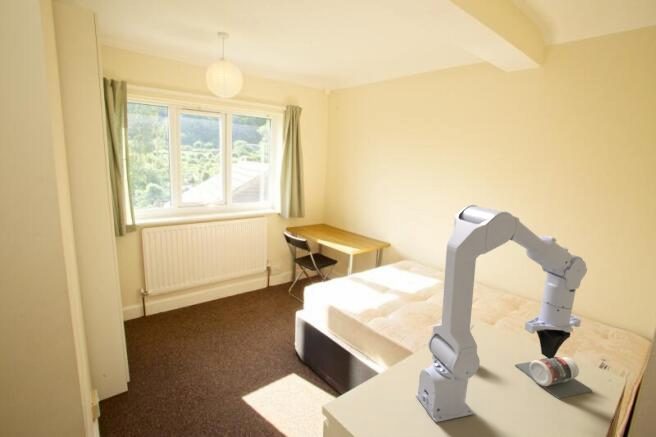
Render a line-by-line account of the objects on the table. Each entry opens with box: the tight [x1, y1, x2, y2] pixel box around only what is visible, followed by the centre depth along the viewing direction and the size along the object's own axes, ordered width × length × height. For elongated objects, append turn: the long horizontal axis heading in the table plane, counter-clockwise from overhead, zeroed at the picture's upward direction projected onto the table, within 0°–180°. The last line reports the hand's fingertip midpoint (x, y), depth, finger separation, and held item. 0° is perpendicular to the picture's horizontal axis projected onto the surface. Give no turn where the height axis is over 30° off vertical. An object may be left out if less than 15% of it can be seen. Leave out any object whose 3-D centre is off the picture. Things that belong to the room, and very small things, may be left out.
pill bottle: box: [530, 356, 580, 386], centre depth 78 cm, size 6×6×10 cm
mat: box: [514, 361, 593, 400], centre depth 80 cm, size 10×12×1 cm
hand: (547, 355), depth 75 cm, fingers closed
